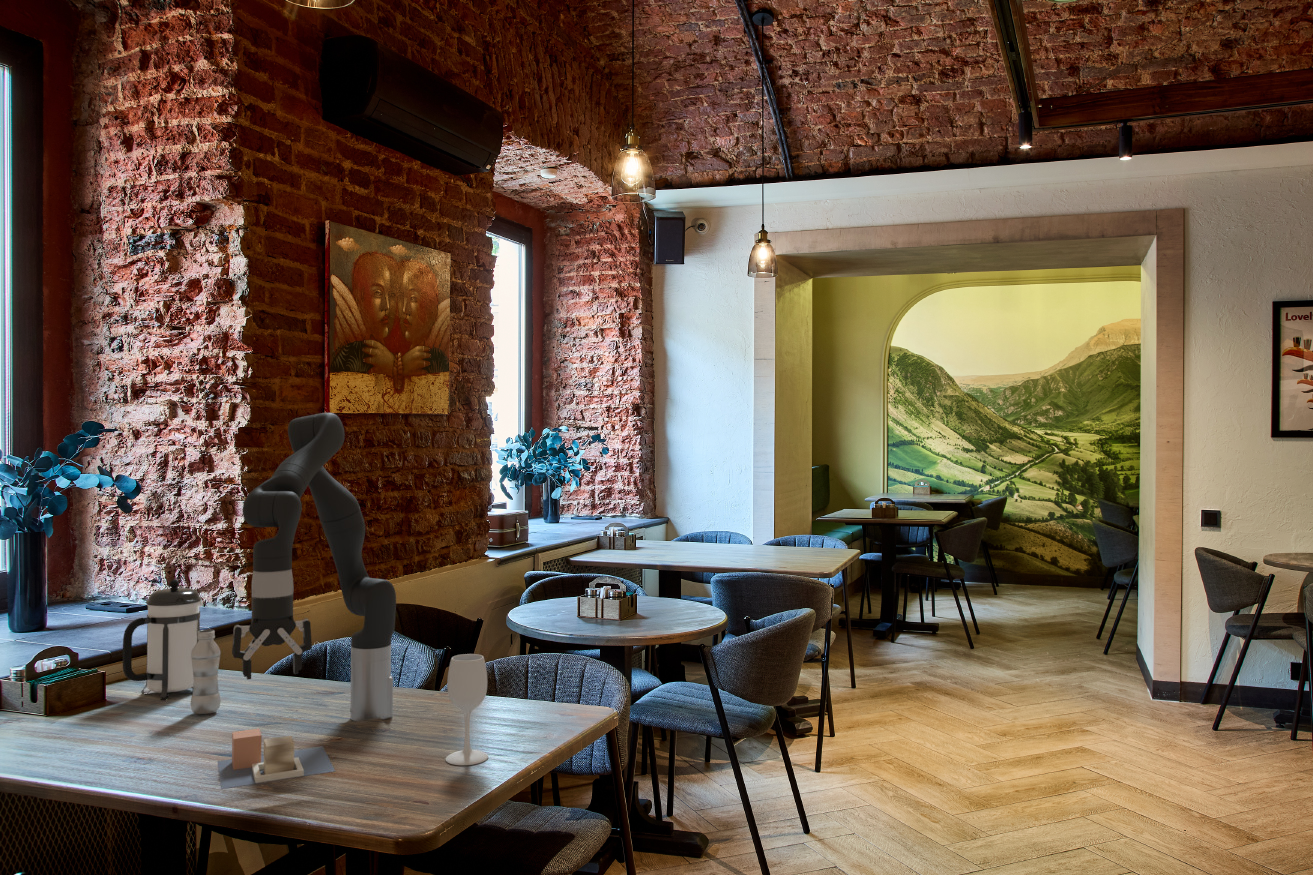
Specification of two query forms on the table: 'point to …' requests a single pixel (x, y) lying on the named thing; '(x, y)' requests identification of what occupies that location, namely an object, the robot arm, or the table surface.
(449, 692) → the wineglass
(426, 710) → the table surface
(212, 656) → the plastic bottle
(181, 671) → the coffee press
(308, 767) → the grey board
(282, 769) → the birch block
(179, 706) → the table surface
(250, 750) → the terracotta block
